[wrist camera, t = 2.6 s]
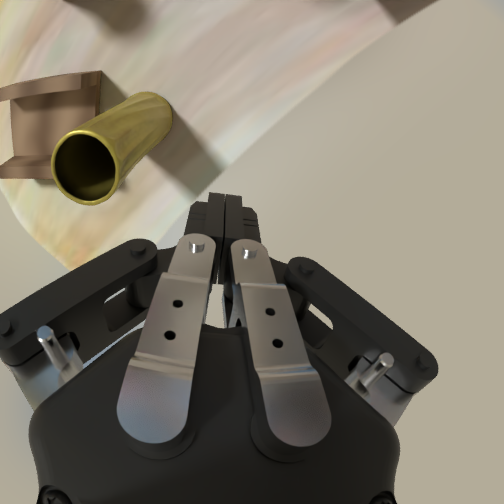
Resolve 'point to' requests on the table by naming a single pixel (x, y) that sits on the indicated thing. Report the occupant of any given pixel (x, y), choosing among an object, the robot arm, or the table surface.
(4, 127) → the table surface
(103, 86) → the table surface
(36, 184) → the table surface
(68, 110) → the u rest
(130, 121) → the vase
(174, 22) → the table surface
